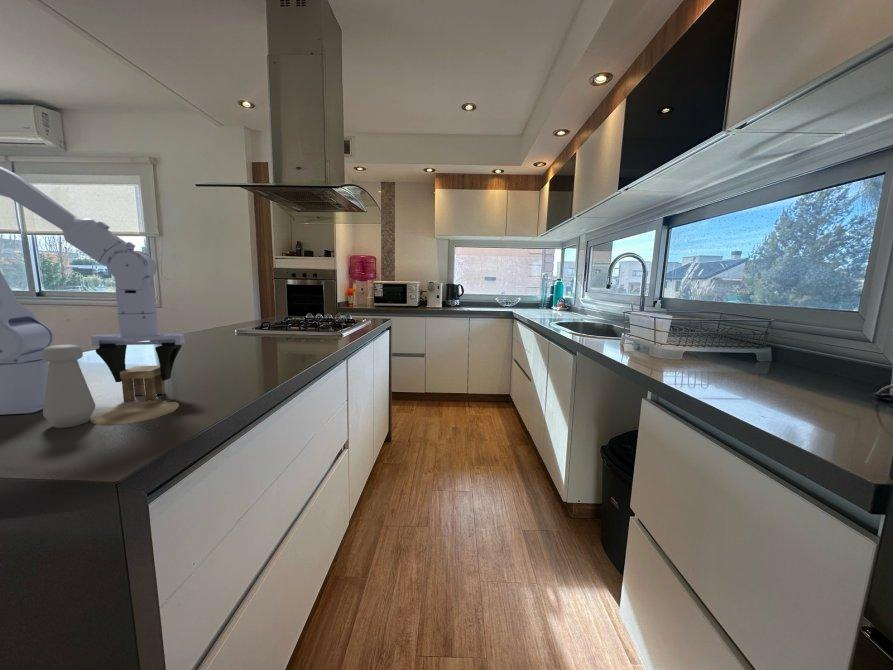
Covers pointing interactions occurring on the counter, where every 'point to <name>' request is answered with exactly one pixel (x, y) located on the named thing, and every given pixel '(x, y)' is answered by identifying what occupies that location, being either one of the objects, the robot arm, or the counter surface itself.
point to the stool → (142, 382)
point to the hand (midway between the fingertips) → (143, 380)
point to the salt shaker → (66, 388)
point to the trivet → (133, 412)
